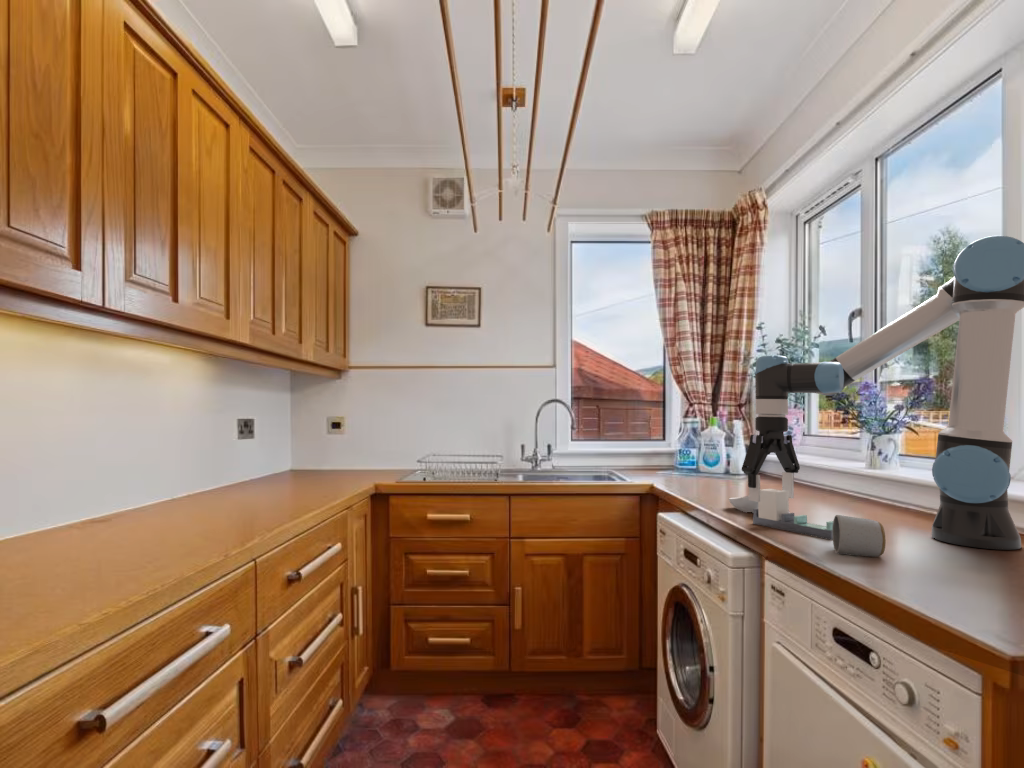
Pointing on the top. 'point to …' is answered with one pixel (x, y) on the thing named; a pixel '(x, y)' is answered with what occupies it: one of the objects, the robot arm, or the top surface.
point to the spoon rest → (744, 504)
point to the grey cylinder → (858, 536)
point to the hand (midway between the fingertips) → (771, 499)
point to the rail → (796, 525)
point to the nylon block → (773, 504)
